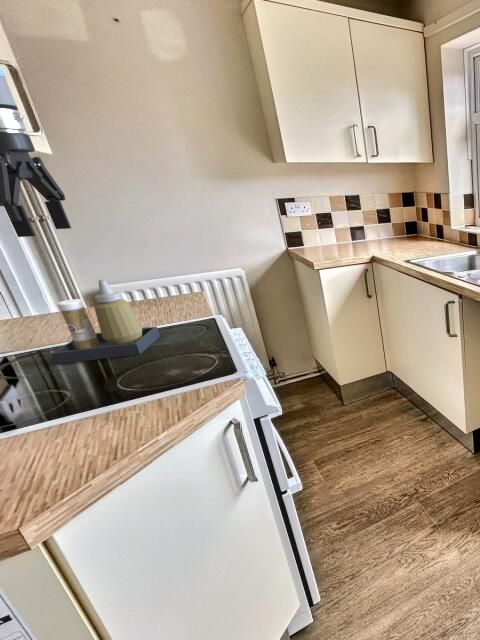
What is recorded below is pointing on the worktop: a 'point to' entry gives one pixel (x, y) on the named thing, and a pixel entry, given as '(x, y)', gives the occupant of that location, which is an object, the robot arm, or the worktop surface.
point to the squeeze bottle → (116, 317)
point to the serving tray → (105, 348)
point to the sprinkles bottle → (79, 324)
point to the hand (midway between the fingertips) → (46, 232)
